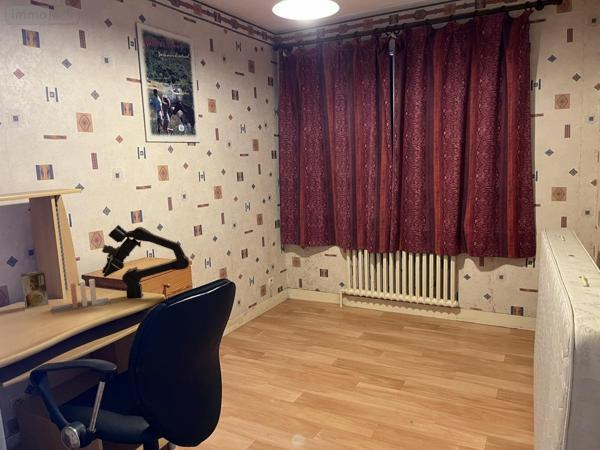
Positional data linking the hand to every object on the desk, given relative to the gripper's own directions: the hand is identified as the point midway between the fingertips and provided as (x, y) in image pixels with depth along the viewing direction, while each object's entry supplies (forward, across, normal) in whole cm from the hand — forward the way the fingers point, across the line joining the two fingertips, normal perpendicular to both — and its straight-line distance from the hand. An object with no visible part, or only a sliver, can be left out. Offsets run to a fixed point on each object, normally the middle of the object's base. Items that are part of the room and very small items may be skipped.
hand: (103, 274), depth 210 cm
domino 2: (+16, 0, +2) cm, 16 cm away
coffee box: (+30, -12, -11) cm, 34 cm away
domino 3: (+13, 0, +5) cm, 14 cm away
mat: (+17, 0, +2) cm, 17 cm away
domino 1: (+18, 0, 0) cm, 18 cm away
